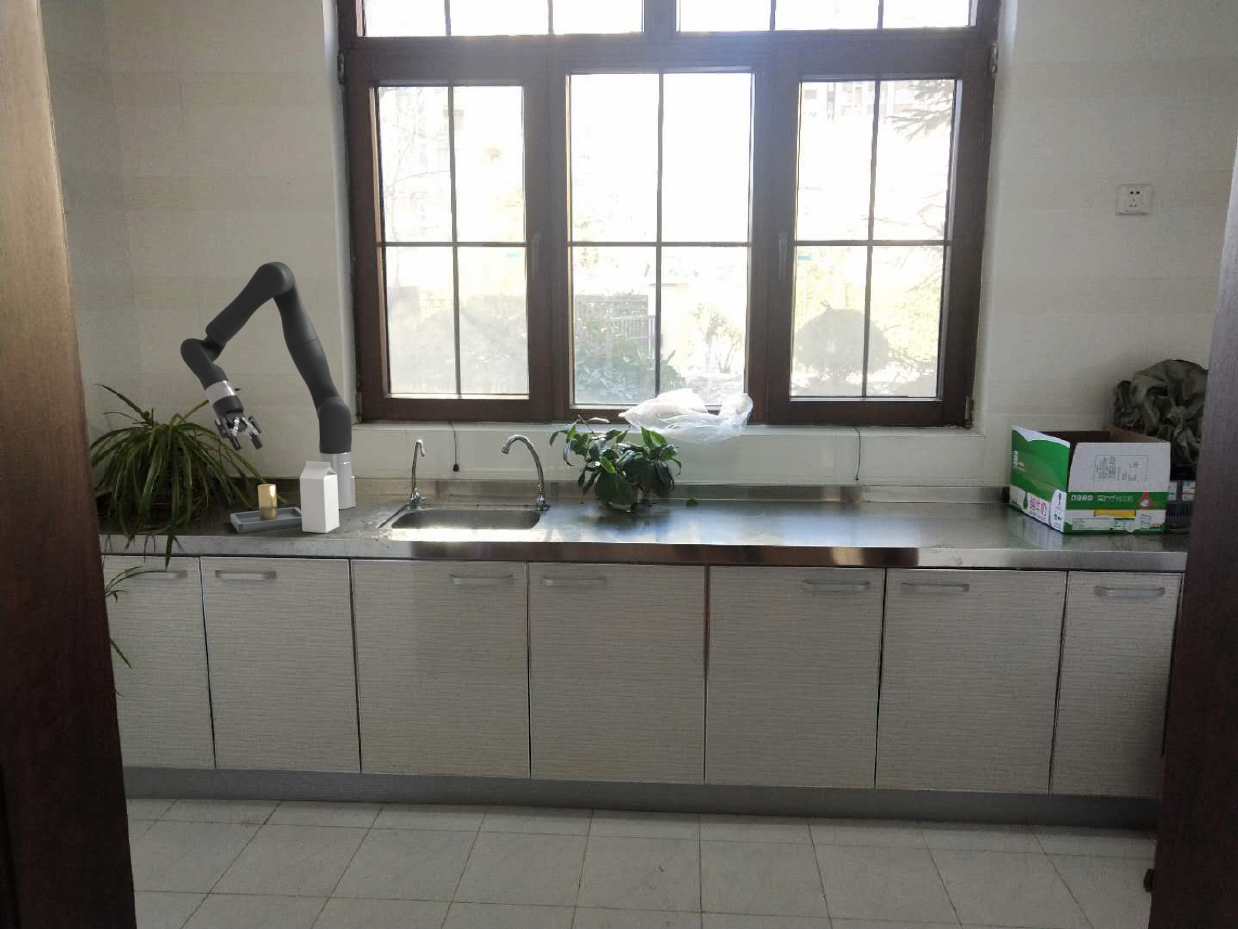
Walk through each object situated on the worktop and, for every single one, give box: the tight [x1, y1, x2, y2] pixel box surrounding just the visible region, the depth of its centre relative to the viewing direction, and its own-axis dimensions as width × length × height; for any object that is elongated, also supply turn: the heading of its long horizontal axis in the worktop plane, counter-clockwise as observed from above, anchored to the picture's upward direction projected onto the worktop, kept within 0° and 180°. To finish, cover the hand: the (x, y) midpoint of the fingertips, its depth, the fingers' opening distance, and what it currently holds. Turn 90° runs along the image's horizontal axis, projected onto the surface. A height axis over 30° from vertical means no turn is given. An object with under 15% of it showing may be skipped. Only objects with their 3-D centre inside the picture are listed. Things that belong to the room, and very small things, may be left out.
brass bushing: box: [257, 483, 278, 521], centre depth 237 cm, size 5×5×10 cm
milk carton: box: [299, 460, 340, 534], centre depth 232 cm, size 7×7×19 cm
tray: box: [229, 506, 302, 534], centre depth 238 cm, size 18×14×2 cm
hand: (249, 449), depth 244 cm, fingers open, 8 cm apart
